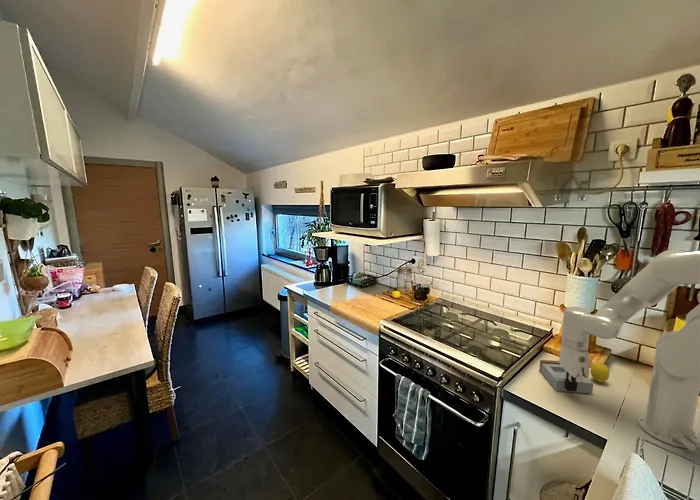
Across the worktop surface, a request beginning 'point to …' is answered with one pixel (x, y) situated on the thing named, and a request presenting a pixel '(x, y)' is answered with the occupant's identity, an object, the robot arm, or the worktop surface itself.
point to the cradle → (563, 379)
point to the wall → (547, 363)
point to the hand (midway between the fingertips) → (570, 389)
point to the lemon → (600, 372)
